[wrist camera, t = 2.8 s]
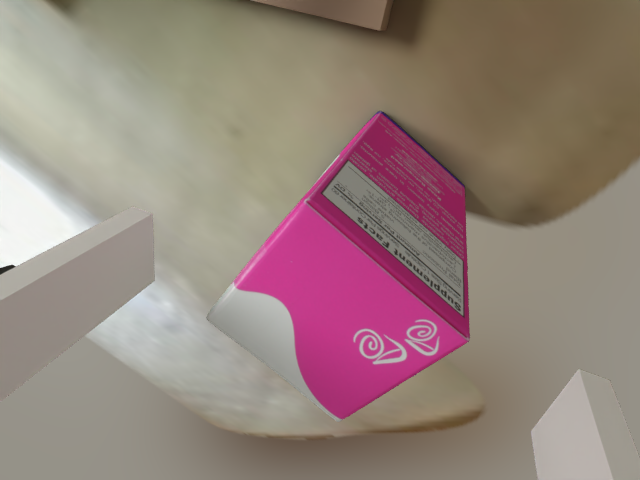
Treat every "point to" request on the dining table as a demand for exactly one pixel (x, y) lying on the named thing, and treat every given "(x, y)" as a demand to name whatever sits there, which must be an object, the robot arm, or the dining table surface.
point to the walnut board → (342, 10)
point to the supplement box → (358, 276)
